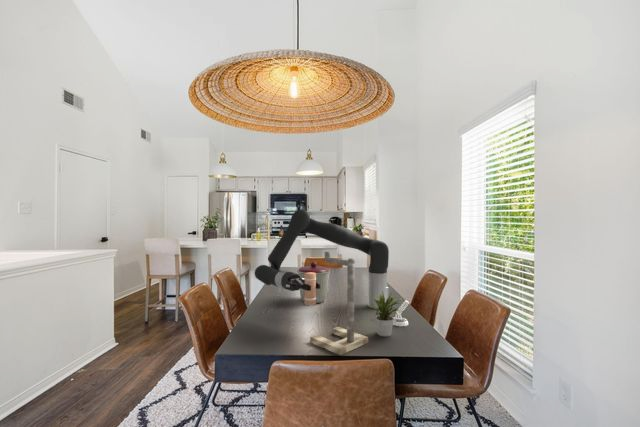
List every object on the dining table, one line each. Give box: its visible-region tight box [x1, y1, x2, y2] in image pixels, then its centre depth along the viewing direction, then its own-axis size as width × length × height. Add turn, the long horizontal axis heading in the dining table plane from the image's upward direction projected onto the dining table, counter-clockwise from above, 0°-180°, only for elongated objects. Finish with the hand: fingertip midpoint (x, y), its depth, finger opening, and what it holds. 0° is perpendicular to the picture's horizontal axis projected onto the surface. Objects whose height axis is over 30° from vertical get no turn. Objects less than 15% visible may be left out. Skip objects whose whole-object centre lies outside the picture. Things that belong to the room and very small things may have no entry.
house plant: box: [368, 291, 401, 337], centre depth 120 cm, size 14×14×16 cm
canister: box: [296, 261, 331, 304], centre depth 168 cm, size 18×18×21 cm
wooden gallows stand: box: [309, 251, 369, 356], centre depth 113 cm, size 14×15×32 cm
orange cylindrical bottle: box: [304, 272, 317, 306], centre depth 124 cm, size 5×5×12 cm
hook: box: [393, 299, 410, 327], centre depth 134 cm, size 8×12×7 cm
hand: (314, 287), depth 122 cm, fingers closed on orange cylindrical bottle, 4 cm apart
